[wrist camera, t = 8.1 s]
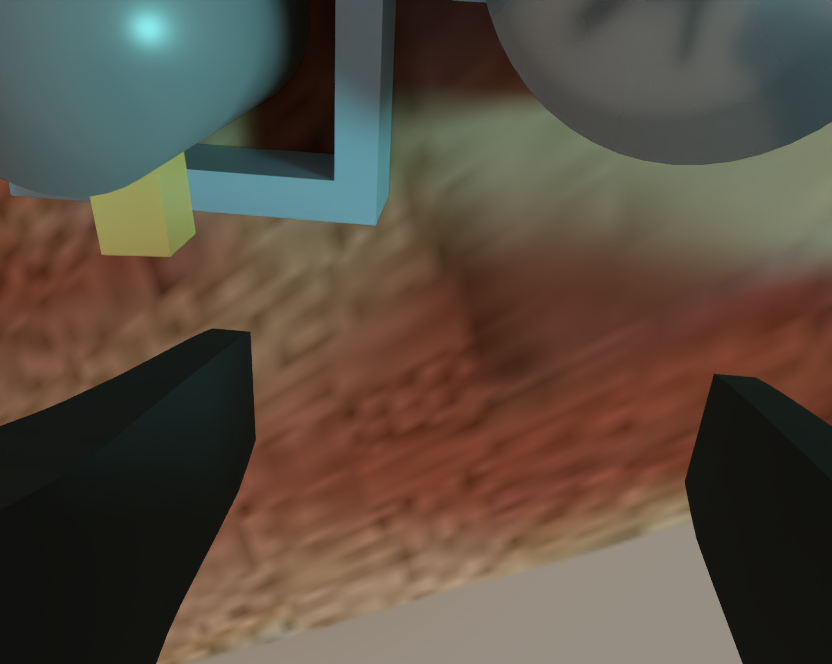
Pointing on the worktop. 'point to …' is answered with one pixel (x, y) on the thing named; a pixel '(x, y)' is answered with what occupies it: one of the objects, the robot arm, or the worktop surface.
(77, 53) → the dark grey rounded cylinder
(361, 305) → the worktop surface
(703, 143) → the motor
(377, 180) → the light blue shallow tray
